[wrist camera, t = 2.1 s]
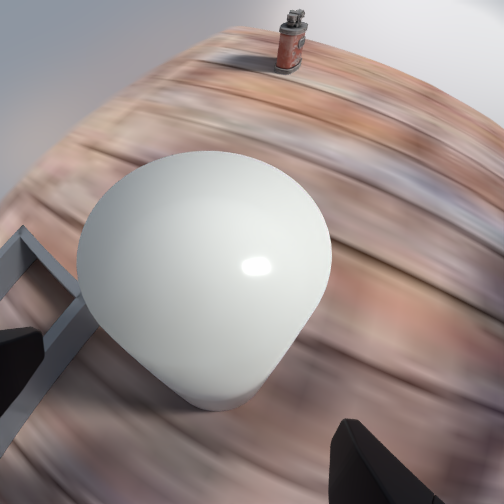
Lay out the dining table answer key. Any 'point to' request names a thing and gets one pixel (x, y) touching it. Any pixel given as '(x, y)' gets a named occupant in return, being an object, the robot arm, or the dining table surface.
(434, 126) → the dining table surface
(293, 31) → the lighter
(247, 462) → the dining table surface
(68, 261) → the dining table surface
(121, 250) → the white smooth rounded part
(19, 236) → the dish rack
